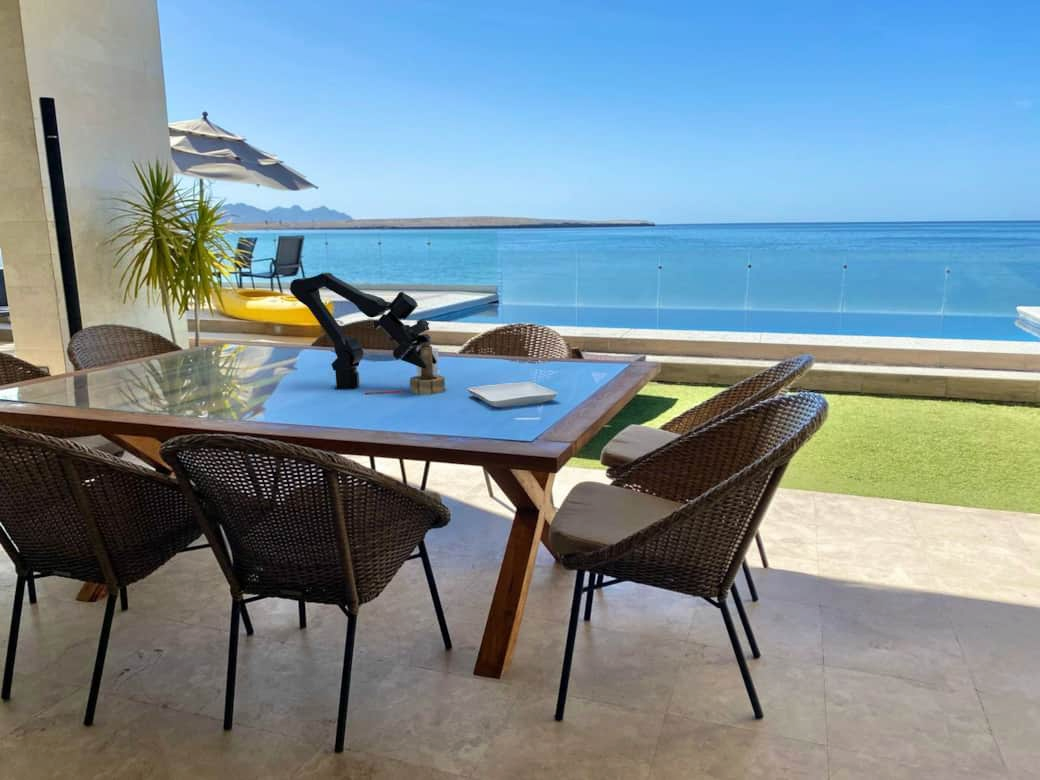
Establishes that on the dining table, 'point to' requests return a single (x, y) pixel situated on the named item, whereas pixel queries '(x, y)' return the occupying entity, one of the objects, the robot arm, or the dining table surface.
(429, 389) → the tan segmented ring
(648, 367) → the dining table surface
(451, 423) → the dining table surface
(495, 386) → the salad plate
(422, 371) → the tall brown cylinder
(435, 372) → the white cup
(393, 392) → the brick-red rectangular plank
